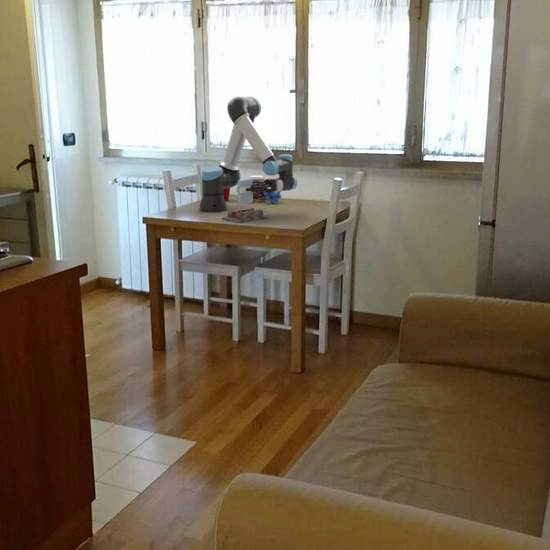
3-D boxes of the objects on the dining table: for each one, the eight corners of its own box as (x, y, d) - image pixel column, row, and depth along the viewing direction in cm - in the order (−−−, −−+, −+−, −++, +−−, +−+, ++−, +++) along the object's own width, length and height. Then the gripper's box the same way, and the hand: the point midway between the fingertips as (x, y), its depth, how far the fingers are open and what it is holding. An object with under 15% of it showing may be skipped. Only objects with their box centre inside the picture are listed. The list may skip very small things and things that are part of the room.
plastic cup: (230, 202, 426) (229, 182, 423) (212, 201, 428) (212, 181, 425) (234, 199, 436) (234, 179, 433) (217, 199, 438) (217, 179, 435)
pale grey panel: (241, 204, 369) (240, 181, 366) (238, 203, 371) (237, 180, 368) (253, 202, 374) (252, 179, 371) (250, 201, 376) (249, 179, 373)
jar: (249, 199, 436) (249, 174, 432) (268, 199, 434) (268, 175, 430) (245, 202, 425) (244, 177, 421) (264, 203, 423) (263, 177, 419)
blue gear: (267, 205, 415) (267, 184, 412) (262, 203, 421) (261, 183, 418) (284, 203, 421) (284, 183, 418) (279, 201, 426) (278, 181, 423)
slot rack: (238, 222, 363) (238, 214, 362) (222, 219, 373) (222, 211, 372) (268, 217, 376) (268, 210, 375) (251, 214, 386) (251, 206, 385)
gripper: (282, 193, 378) (248, 198, 363) (263, 190, 389) (229, 195, 374) (282, 179, 376) (247, 184, 361) (263, 177, 387) (228, 181, 372)
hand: (238, 190), depth 368 cm, fingers closed on pale grey panel, 2 cm apart
